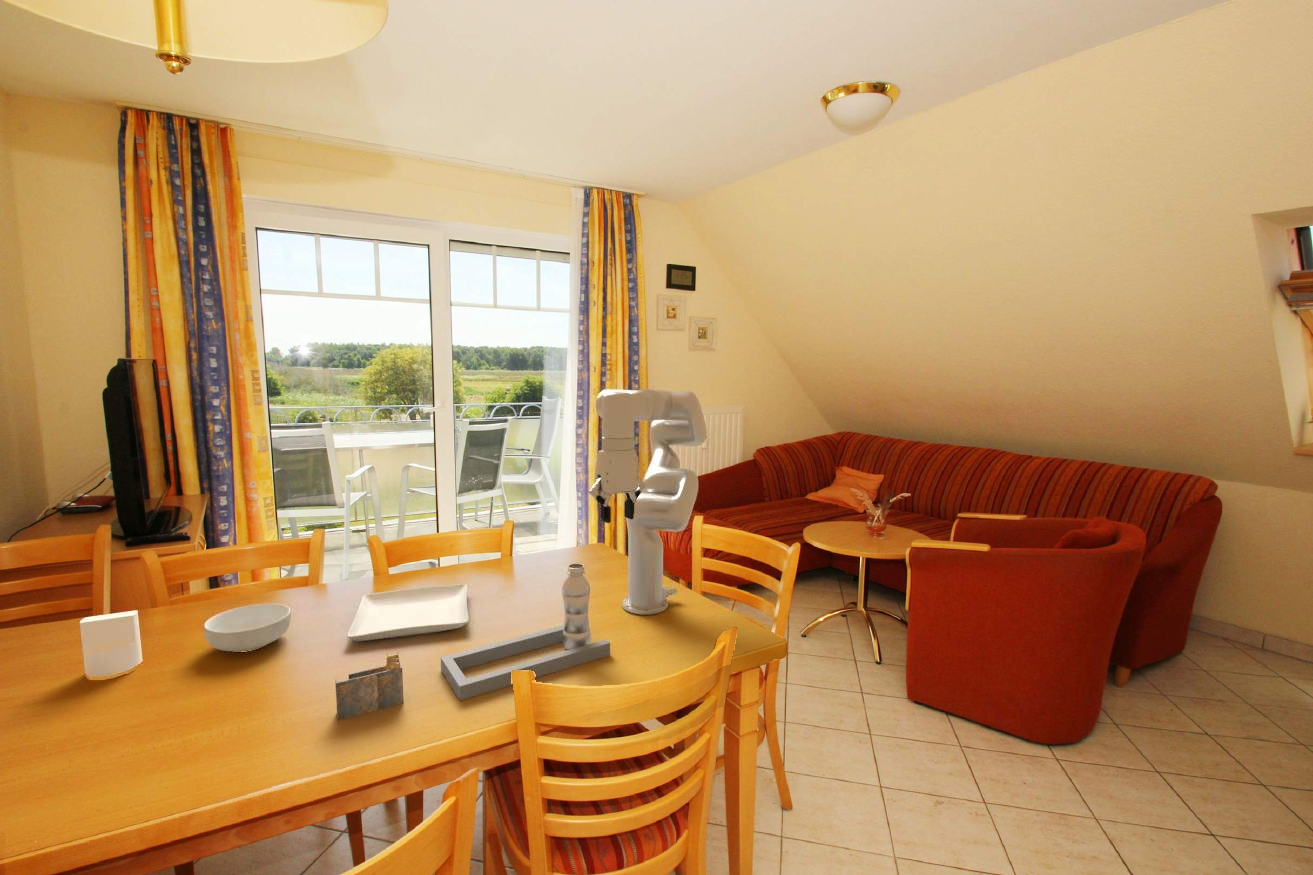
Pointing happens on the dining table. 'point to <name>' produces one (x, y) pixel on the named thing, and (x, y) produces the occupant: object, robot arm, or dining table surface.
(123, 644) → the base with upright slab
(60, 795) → the dining table surface
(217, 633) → the cereal bowl
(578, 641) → the plastic bottle
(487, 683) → the u rest
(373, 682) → the ruin model on sheet
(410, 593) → the square plate
